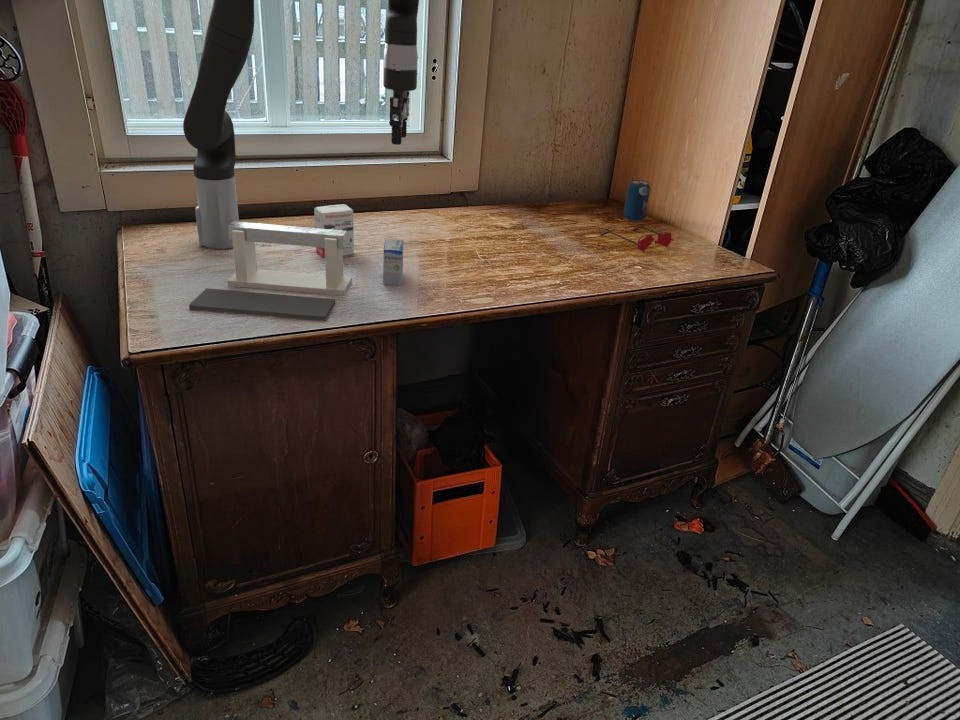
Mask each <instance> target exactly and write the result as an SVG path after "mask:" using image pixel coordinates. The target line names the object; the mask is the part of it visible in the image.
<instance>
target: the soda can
mask: <svg viewBox="0 0 960 720" xmlns="http://www.w3.org/2000/svg"><path fill="white" fill-rule="evenodd" d="M650 192H651V186H650V182H649V181H648V180H643V179H632V180H630V183H629V185H628V187H627V192H626V198H625V203H624V209H623V216H624V219H625V220H626V221H629V222H635V223H636V222H642V221H643V220H644V219H645V218H646V213H647V208H648V203H649V202H648V201H649V198H650V194H651V193H650Z"/></svg>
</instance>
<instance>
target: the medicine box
mask: <svg viewBox="0 0 960 720" xmlns="http://www.w3.org/2000/svg"><path fill="white" fill-rule="evenodd" d="M382 255H383V256H382V257H383V258H382V260H383V262H382V264H383V265H382V266H383V267H382V268H383V269H382V270H383V271H382V272H383V273H382V284H383V285H384V286H387V285H388V286H402V285H403V284H402V283H403V268H404V267H403V265H404V240H403V239H396V238H385V239H384V245H383V254H382Z"/></svg>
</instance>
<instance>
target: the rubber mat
mask: <svg viewBox="0 0 960 720" xmlns="http://www.w3.org/2000/svg"><path fill="white" fill-rule="evenodd" d="M335 304H336V298H326V297H313V296H302V295H291V294H290V295H289V294H280V293H279V294H278V293H269V292H268V293H267V292H266V293H265V292H255V291H243V290H230V289H221V288H220V289H218V288H209V287H208V288H207V287H205V288H204V290H202V292H201V293H200V294H199V295H198V296H197V297H195V298H194V300H192V301H191V302H190V303H189V304H188V308H189V310H191V311H203V312H212V313H213V312H214V313H224V312H226V314H227V313H228V314H237V315H250V316H251V315H252V316H261V317H263V316H264V317H273V318H275V317H276V318H286V319H298V320H309V321H322V322H326V321H327V320H328V318H329V316H330V314H331V312H332V310H333V309H334V307H335Z"/></svg>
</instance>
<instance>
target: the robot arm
mask: <svg viewBox="0 0 960 720" xmlns="http://www.w3.org/2000/svg"><path fill="white" fill-rule="evenodd" d="M212 3H213V4H212V7H211V11H210V15H209V18H208V23H207V27H206V31H205V36H204V42H203V46H202V52H201V57H200V61H199V66H198V70H197V71H198V72H197V77H196V82H195V86H194V89H193V92H192V96H191V97H190V101H189V104H188V107H187V109H186V112H185V115H184V118H183V123H182V130H183V134H184V137H185V139H186V140H187V142H188V143H189V145H191V147H192V148H194V149H196V151H197V154H196V158H195V161H194V162H193V176H194V183H195V190H196V191H195V192H196V200H197V206H195V208H194V211H195V219H196V221H195V222H196V227H197V236H198V244H199V246H203V247H206V248H209V249H215V250H225V249H233V241H232V240H229V232H228V226H229V225H230V224H231V223H232V222H234V221H236V222H240V218H239V210H238V209H239V208H238V198H237V188H236V177H235V167H236V161H237V160H236V158H237V157H236V156H237V155H236V154H237V153H236V141H235V140H236V139H235V136H236V135H235V127H234V124H233V123H234V122H233V119H232V118H231V116H230V114H229V112H227V111H226V107H227V103H228V100H229V96H230V94H231V91H232V89H233V88H234V85H235V84H236V82H237V80H238V78H240V75H241V73H242V71H243V69H244V66H245V64H246V62H247V58H248V56H249V52H250V47H251V44H252V40H253V36H254V30H255V29H254V28H255V0H213V2H212ZM419 4H420V0H388V1H387V16H386V18H385V22H384V23H385V25H384V29H385V30H384V49H383V87H384V88H385V89H387V90H392V96H390V98H389V120H388V121H389V122H388V123H389V126H390V127H391V144H392V145H394V146H395V145H397V146H398V145H399V146H400V145H401V144H402V142H403V141H402V138H406V137H407V126H408V125H407V123H408V120H409V116H410V91H415V90H417V87H418V85H417V84H418V48H417V47H418V46H417V45H418V42H417V41H418V12H419ZM395 119H396V120H395Z"/></svg>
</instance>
